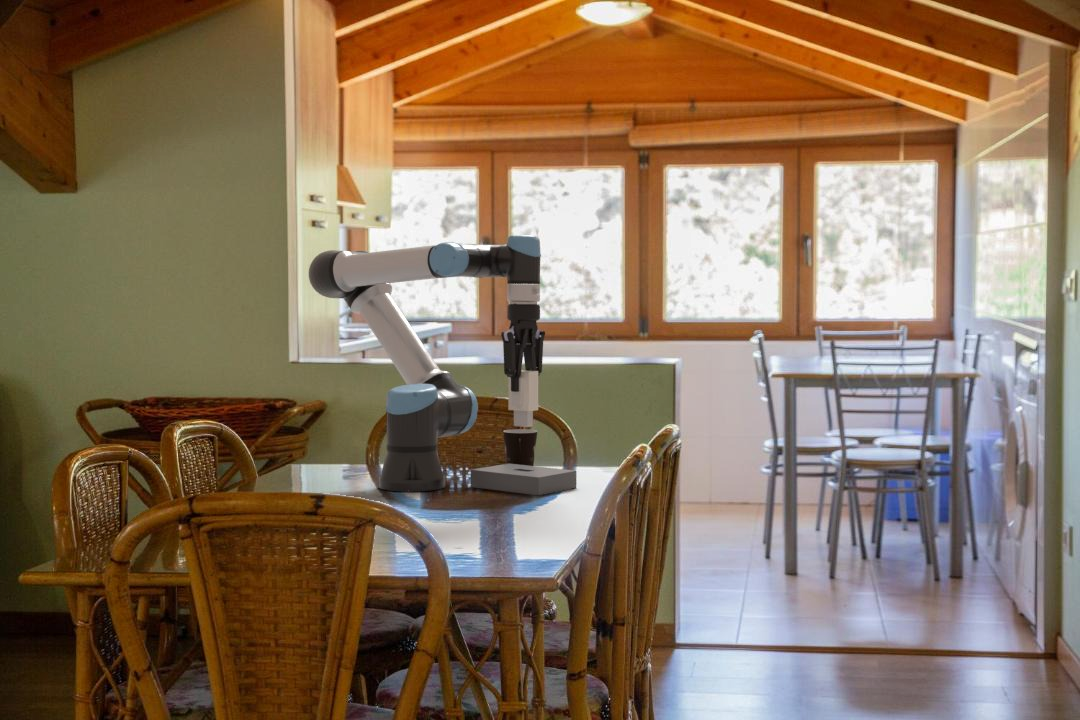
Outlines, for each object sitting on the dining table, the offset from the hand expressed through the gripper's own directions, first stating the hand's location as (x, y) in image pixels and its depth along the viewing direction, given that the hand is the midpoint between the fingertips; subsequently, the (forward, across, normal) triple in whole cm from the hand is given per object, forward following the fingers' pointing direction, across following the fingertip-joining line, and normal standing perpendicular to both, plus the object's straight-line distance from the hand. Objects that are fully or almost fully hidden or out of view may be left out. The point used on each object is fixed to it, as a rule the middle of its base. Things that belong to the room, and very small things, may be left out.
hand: (523, 405), depth 298 cm
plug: (+5, 0, 0) cm, 5 cm away
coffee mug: (+19, +20, +18) cm, 33 cm away
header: (+19, 0, 0) cm, 19 cm away
